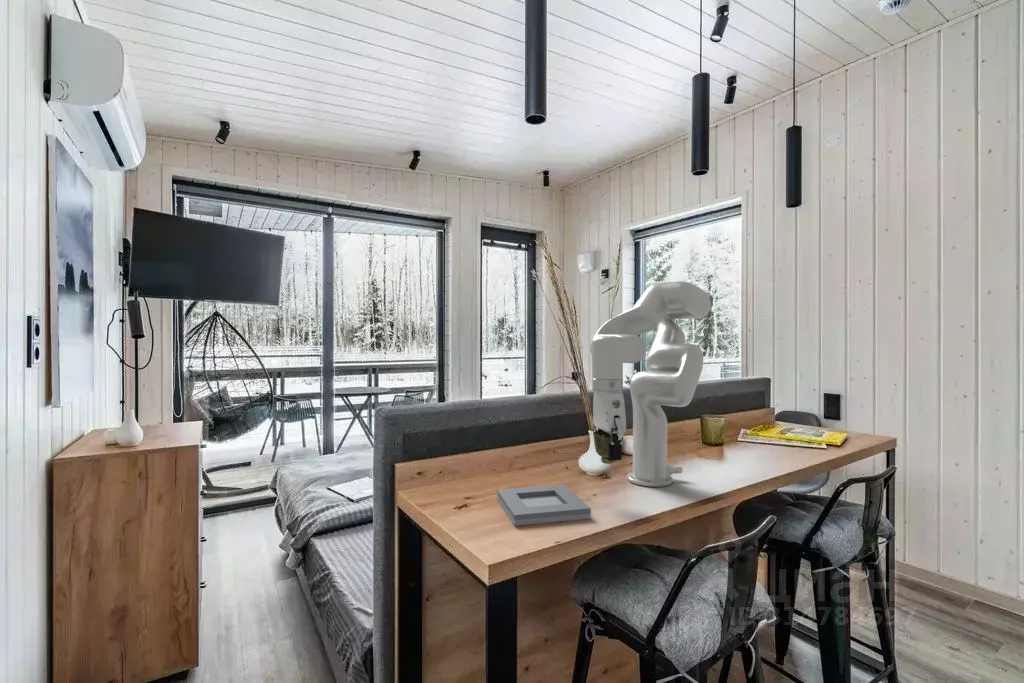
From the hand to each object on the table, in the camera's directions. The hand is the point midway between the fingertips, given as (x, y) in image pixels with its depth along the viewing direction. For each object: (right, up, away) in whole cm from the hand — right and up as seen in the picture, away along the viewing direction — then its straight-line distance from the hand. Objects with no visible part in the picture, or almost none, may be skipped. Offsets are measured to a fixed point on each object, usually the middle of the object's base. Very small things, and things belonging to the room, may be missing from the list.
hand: (608, 455), depth 123 cm
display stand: (-17, -12, -5) cm, 21 cm away
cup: (0, -2, 0) cm, 2 cm away
